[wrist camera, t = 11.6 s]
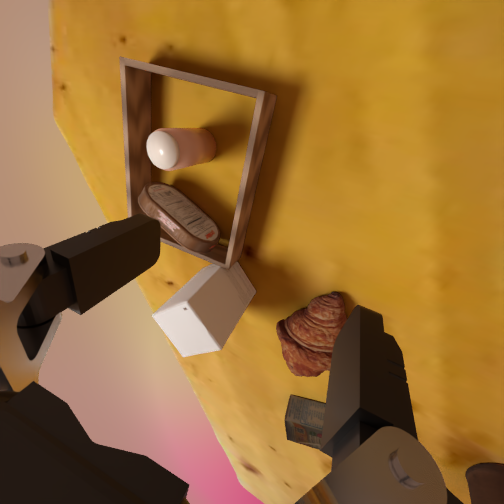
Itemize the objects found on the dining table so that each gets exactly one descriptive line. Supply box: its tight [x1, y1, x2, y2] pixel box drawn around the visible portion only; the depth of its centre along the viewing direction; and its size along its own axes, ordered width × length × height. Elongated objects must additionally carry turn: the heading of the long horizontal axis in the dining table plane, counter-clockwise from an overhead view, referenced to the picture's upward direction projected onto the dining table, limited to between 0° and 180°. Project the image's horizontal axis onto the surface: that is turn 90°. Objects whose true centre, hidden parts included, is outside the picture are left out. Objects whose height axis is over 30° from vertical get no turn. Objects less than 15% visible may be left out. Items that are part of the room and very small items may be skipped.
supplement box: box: [152, 262, 256, 357], centre depth 43 cm, size 9×9×15 cm
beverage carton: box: [285, 395, 326, 450], centre depth 52 cm, size 8×19×7 cm, turn 98°
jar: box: [147, 128, 216, 171], centre depth 35 cm, size 5×5×10 cm
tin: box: [138, 182, 220, 254], centre depth 41 cm, size 15×3×8 cm, turn 53°
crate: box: [120, 57, 277, 270], centre depth 39 cm, size 26×21×5 cm
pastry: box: [276, 292, 347, 377], centre depth 44 cm, size 17×15×8 cm
